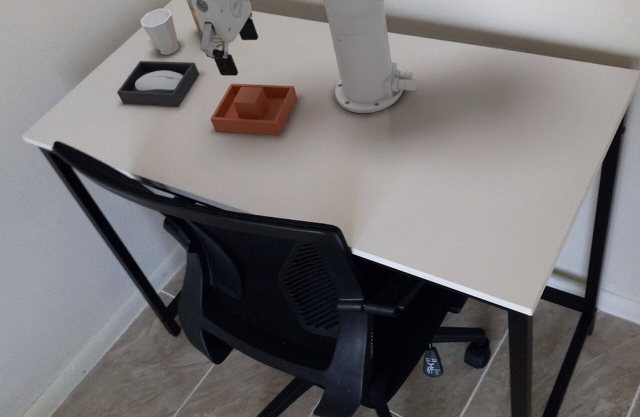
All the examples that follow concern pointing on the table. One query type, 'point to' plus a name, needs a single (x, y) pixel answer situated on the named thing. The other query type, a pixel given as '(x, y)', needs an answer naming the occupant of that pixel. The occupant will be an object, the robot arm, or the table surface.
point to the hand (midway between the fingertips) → (240, 56)
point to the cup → (161, 30)
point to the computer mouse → (158, 82)
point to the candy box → (198, 22)
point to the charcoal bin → (175, 98)
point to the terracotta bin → (271, 123)
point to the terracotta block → (251, 103)
